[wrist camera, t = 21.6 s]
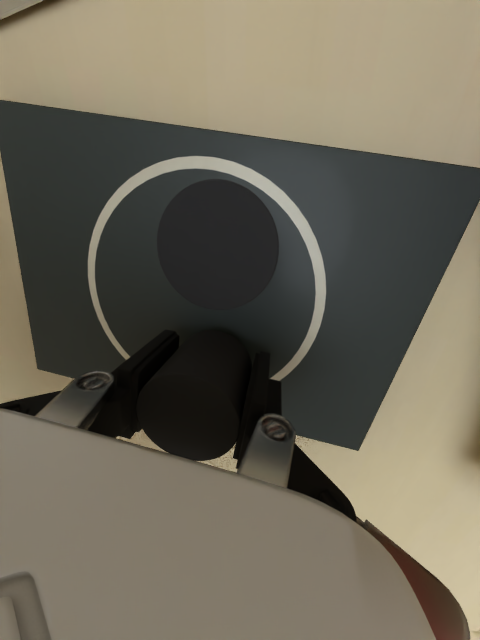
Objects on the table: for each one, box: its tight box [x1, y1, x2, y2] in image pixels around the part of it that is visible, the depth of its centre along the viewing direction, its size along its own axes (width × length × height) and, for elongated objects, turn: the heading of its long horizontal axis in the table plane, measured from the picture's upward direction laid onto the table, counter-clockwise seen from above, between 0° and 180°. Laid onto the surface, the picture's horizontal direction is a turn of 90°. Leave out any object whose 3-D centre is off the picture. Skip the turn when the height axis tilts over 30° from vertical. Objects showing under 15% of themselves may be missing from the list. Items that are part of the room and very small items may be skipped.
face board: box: [0, 100, 480, 451], centre depth 13 cm, size 22×15×1 cm
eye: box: [157, 179, 279, 310], centre depth 9 cm, size 4×4×4 cm
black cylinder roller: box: [136, 330, 252, 461], centre depth 10 cm, size 4×4×4 cm
